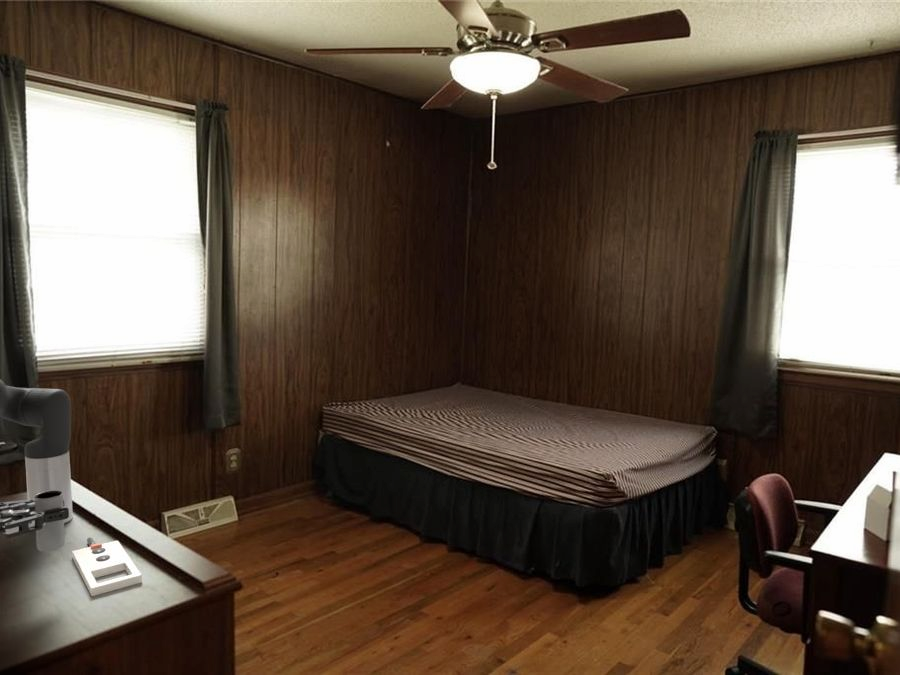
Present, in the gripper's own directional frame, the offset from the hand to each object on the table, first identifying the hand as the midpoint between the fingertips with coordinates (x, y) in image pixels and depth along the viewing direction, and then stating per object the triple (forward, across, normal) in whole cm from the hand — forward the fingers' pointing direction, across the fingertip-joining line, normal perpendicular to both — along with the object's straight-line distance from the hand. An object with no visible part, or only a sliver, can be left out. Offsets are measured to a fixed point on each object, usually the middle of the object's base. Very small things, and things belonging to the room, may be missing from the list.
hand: (65, 508), depth 124 cm
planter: (-3, 0, +7) cm, 8 cm away
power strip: (+8, +9, +17) cm, 20 cm away
